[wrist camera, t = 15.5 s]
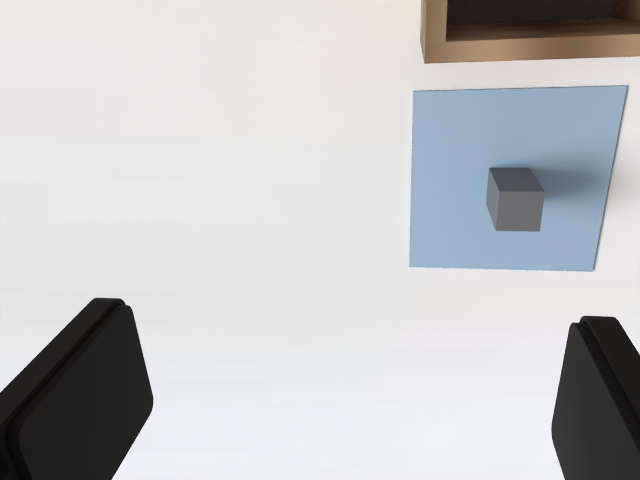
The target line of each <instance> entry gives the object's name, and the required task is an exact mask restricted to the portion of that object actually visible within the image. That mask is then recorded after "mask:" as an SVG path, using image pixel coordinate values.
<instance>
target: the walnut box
mask: <svg viewBox="0 0 640 480" xmlns="http://www.w3.org/2000/svg"><path fill="white" fill-rule="evenodd" d="M446 21H447V0H422V1H421V37H420V42H421V47H422V53H423V58H424V63H454V62H484V61H513V60H543V59H572V58H602V57H631V56H640V0H618V1H617V7H616V13H615V18H592V19H570V20H548V21H526V22H504V23H481V24H459V25H446Z"/></svg>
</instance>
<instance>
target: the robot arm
mask: <svg viewBox="0 0 640 480" xmlns="http://www.w3.org/2000/svg"><path fill="white" fill-rule="evenodd" d="M152 408H153V394H152V390H151V386H150V382H149V378H148V374H147V369H146V365H145V361H144V357H143V353H142V349H141V344H140V340H139V336H138V332H137V328H136V324H135V319H134V315H133V311H132V309H131V307H130V306H128V305H125V302H124V301H123V300H122V299H117V298H94V299H93V300H92V301H91V302H90V303H89V304H88V305H87V306H86V307H85V308H84V309H83V310H82V311H81V312H80V313H79V314H78V315H77V316H76V317H75V318H74V319H73V320H72V321H71V322H70V323H69V324H68V325H67V326H66V327H65V328H64V329H63V330H62V331H61V332H60V333H59V334H58V335H57V336H56V337H55V338H54V339H53V340H52V341H51V342H50V343H49V344H48V345H47V346H46V347H45V348H44V349H43V350H42V351H41V352H40V353H39V354H38V355H37V356H36V357H35V358H34V359H33V360H32V361H31V362H30V363H29V364H28V365H27V366H26V367H25V368H24V369H23V370H22V371H21V372H20V373H19V374H18V375H17V376H16V377H15V378H14V379H13V380H12V381H11V382H10V383H9V384H8V385H7V386H6V387H5V388H4V389H3V391H2V392H1V393H0V480H112V478H113V476H114V475H115V473H116V471H117V470H118V468H119V466H120V464H121V463H122V461H123V459H124V458H125V456H126V454H127V453H128V451H129V449H130V448H131V446H132V444H133V443H134V441H135V439H136V437H137V436H138V434H139V432H140V431H141V429H142V427H143V426H144V424H145V422H146V421H147V419H148V417H149V415H150V414H151V411H152ZM552 440H553V444H554V447H555V450H556V453H557V456H558V460H559V463H560V466H561V469H562V472H563V475H564V478H565V480H640V355H639V353H638V351H637V350H636V348H635V347H634V345H633V344H632V342H631V340H630V339H629V337H628V336H627V334H626V332H625V331H624V329H623V328H622V326H621V324H620V323H619V321H618V320H617V319H616V318H615V317H602V316H583V317H582V318H581V319H580V322H579V323H572V324H571V325H570V328H569V333H568V339H567V344H566V349H565V355H564V360H563V366H562V371H561V377H560V382H559V387H558V393H557V398H556V404H555V409H554V414H553V420H552Z"/></svg>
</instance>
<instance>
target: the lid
mask: <svg viewBox="0 0 640 480" xmlns="http://www.w3.org/2000/svg"><path fill="white" fill-rule="evenodd" d="M626 89H627V86H594V87H556V88H518V89H480V90H442V91H413V125H412V170H411V216H410V261H409V267H431V268H470V269H509V270H548V271H587V272H592V271H593V266H594V260H595V255H596V250H597V244H598V239H599V234H600V228H601V223H602V218H603V212H604V207H605V202H606V196H607V191H608V186H609V180H610V175H611V170H612V164H613V159H614V154H615V148H616V143H617V138H618V132H619V127H620V122H621V116H622V111H623V106H624V100H625V95H626Z"/></svg>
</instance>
